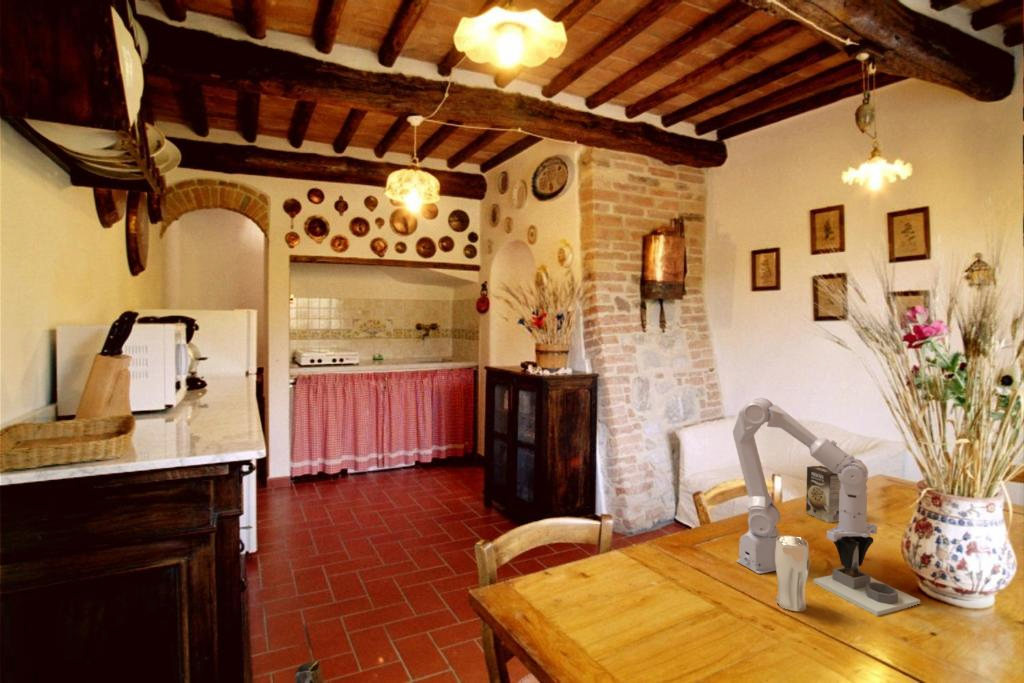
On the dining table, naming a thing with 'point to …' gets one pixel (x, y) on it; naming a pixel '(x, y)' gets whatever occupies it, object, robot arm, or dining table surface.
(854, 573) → the metal cylinder
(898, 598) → the panel
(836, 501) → the coffee box
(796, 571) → the beer glass
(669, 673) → the dining table surface
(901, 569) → the dining table surface
